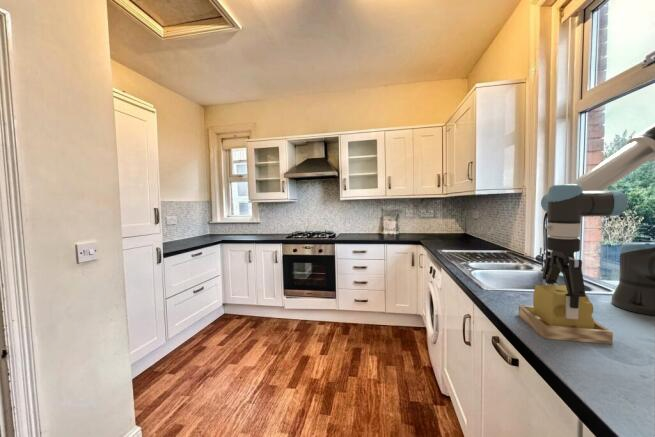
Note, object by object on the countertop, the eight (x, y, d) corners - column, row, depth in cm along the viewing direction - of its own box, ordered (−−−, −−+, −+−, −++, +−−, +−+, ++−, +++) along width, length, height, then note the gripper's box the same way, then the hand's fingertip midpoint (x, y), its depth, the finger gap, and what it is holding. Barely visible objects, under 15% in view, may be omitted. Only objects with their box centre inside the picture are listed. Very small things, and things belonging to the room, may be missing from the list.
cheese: (594, 331, 77) (596, 296, 76) (550, 328, 79) (551, 294, 79) (570, 315, 87) (571, 284, 87) (531, 313, 90) (532, 283, 89)
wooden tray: (575, 318, 89) (575, 308, 89) (612, 344, 74) (612, 332, 74) (518, 314, 93) (518, 305, 93) (542, 338, 78) (542, 326, 78)
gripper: (530, 232, 94) (529, 297, 95) (570, 242, 72) (568, 326, 73) (556, 232, 92) (555, 298, 93) (606, 243, 70) (602, 329, 71)
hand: (560, 310), depth 83 cm, fingers closed on cheese, 10 cm apart
